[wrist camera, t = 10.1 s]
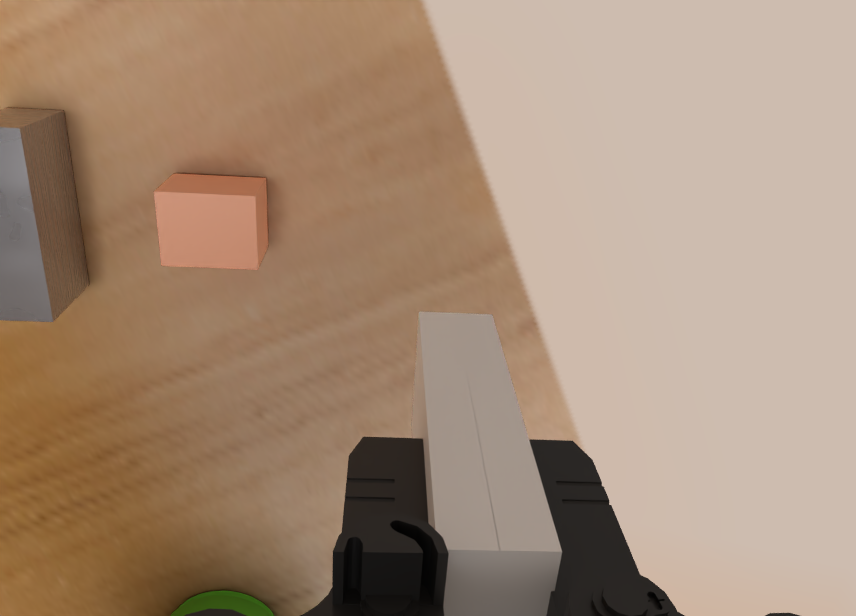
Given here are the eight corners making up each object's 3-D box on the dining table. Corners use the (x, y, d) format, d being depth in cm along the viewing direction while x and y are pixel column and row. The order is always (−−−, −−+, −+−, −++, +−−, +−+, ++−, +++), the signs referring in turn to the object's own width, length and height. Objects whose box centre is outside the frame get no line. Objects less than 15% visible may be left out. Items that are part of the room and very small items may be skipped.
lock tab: (179, 242, 24) (161, 265, 22) (173, 173, 23) (153, 191, 21) (268, 246, 24) (258, 269, 22) (266, 178, 23) (255, 196, 21)
